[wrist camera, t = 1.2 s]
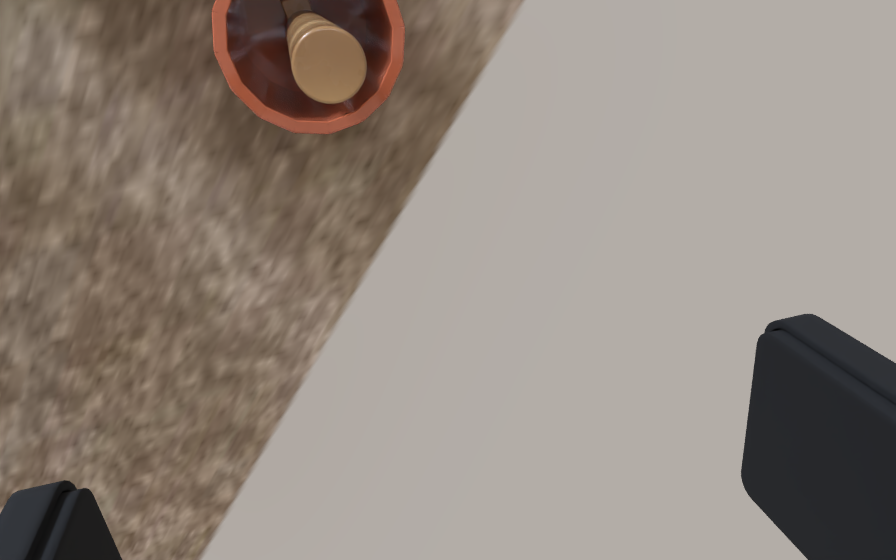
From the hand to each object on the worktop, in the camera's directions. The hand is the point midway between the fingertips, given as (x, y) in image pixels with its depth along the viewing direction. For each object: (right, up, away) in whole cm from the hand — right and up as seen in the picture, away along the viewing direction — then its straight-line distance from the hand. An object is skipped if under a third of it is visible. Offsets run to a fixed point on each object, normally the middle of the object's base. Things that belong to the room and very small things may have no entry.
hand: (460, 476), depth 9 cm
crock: (-7, +15, +23) cm, 29 cm away
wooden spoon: (-7, +15, +22) cm, 28 cm away
